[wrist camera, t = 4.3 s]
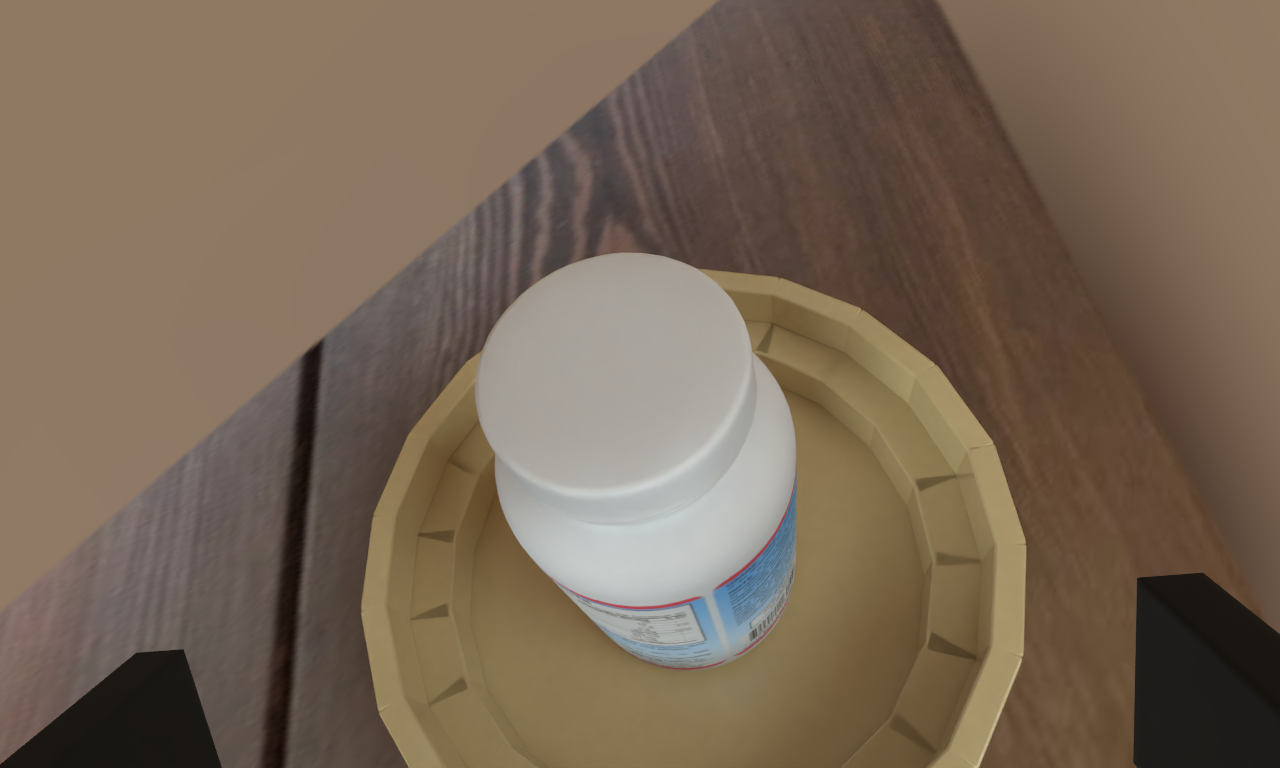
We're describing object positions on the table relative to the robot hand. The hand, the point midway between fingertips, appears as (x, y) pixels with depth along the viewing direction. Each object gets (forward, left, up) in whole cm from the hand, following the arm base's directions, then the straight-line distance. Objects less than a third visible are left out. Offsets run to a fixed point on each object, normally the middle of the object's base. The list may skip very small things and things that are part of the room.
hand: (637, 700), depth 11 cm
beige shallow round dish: (-3, +4, -11) cm, 12 cm away
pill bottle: (-3, +4, -11) cm, 12 cm away
